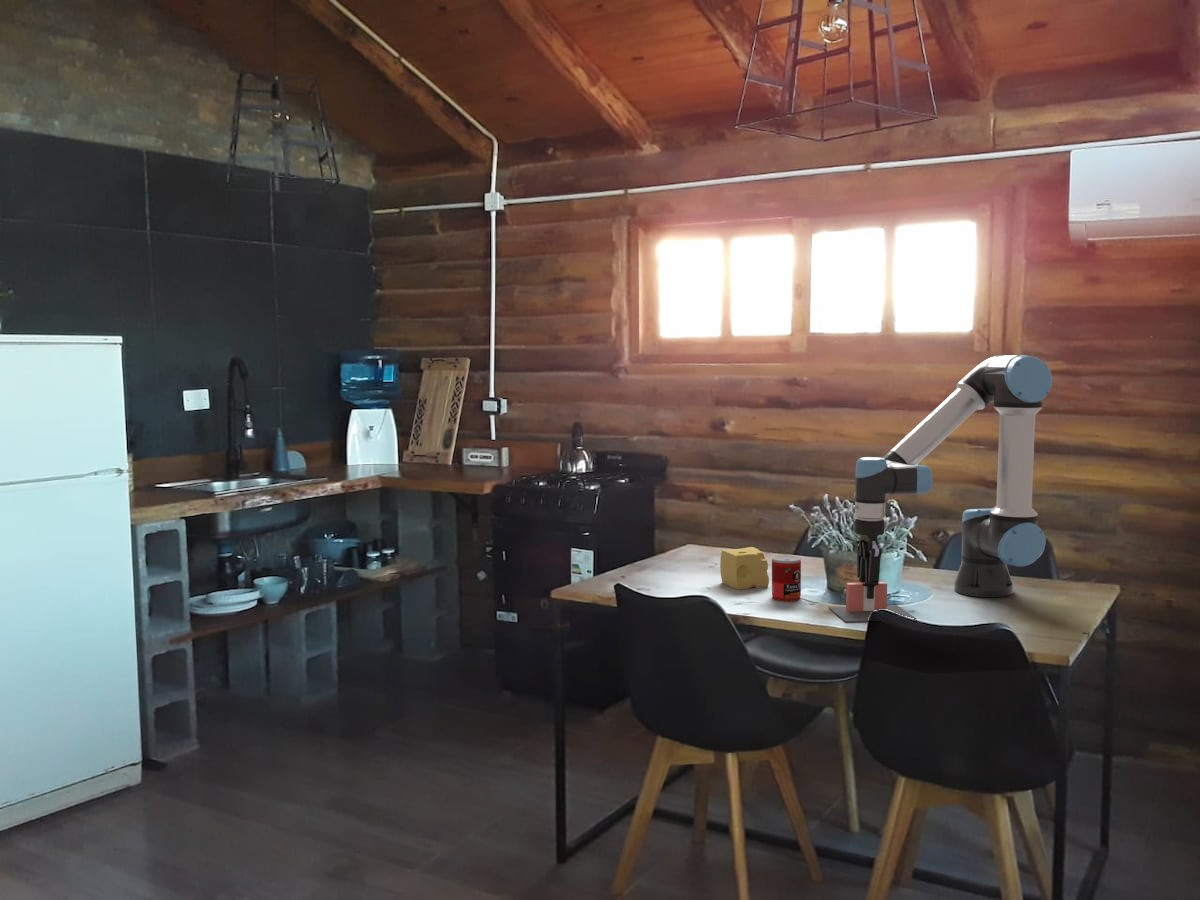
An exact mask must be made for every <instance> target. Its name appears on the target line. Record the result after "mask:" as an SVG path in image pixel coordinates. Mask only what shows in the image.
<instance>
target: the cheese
mask: <svg viewBox="0 0 1200 900" xmlns="http://www.w3.org/2000/svg"><path fill="white" fill-rule="evenodd" d="M763 552H764V551H761V550H760V549H758V548H756V547H753V546H749V547H742V548H736V549H735V548H734V549H723V550H721V553H720V561H719V563H720V564H719V565H720V566H719V567H720V569H719V570H720V578H721V583H722V584H724V585H726V586H729V587H731V588H732V589H735V590H737V591H739V590H748V589H751V588H757V589H758V588H759V589H761V588H768V587H769V584H770V578H769V574H768V569H769V564H768V561H767V559H766V557H765V554H764V553H763Z"/></svg>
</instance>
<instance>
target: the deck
mask: <svg viewBox="0 0 1200 900" xmlns="http://www.w3.org/2000/svg"><path fill="white" fill-rule="evenodd" d="M845 584H846V586H845V595H846V596H845V607H846V610H847V611H848V612H854V611H863V593H864V586H863V584H865V582H860V581H859V582H846V583H845ZM887 605H888V583H887V582H885V581H879V585H876V586H875V605H874V610H879V609H887Z"/></svg>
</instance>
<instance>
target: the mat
mask: <svg viewBox="0 0 1200 900" xmlns="http://www.w3.org/2000/svg"><path fill="white" fill-rule="evenodd" d="M828 609H829V611H831V612H832V613H833V612H834V613H833V614H834V615H835V616H837V618H840V620H842V621H843V622H844V623H868V622H867V621H868V617H869V615H870V613H871V612H873V611H854V612H848V611H847V610H846V606H833V607H831V606H828ZM887 609H888V610H891V611H894V612H895V613H898V614H900V615H903V616H907V617H911V618H914V619H917V618H916V617H915V616H914V615H912V614H910V613H909V612H908V611H906V610H905V609H903V608H902V607H901V606H899V605H898V604H890V605H889V604H887Z"/></svg>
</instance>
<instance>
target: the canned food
mask: <svg viewBox="0 0 1200 900" xmlns="http://www.w3.org/2000/svg"><path fill="white" fill-rule="evenodd" d="M801 568H802V561H801V557H800V556H796V555H795V556H794V555H787V554H786V555H784V554H783V555H775V556H772V557H771V595H772V599H773V600H775V601H780V602H796V601H798V600H800V598H801V596H802V595H801V593H802V592H801V591H802V586H801V585H802V581H801V580H802V569H801Z"/></svg>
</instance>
